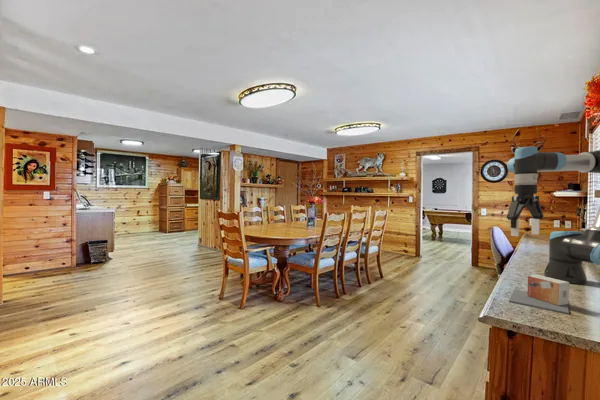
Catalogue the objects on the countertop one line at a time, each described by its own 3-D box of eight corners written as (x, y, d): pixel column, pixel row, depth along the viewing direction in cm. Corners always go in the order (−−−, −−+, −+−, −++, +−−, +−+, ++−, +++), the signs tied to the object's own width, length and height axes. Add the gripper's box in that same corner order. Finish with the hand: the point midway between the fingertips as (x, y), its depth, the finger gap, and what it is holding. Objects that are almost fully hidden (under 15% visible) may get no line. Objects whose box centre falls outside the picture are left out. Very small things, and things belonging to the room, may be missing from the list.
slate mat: (514, 290, 120) (514, 289, 120) (566, 300, 110) (566, 298, 110) (509, 301, 107) (509, 300, 107) (568, 314, 96) (568, 312, 96)
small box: (559, 306, 102) (526, 296, 112) (569, 304, 104) (536, 295, 114) (559, 283, 102) (527, 275, 112) (569, 281, 104) (537, 274, 114)
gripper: (515, 183, 114) (515, 238, 115) (554, 184, 124) (553, 234, 124) (496, 184, 121) (496, 235, 122) (534, 184, 131) (534, 232, 131)
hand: (525, 235), depth 123 cm, fingers open, 13 cm apart
